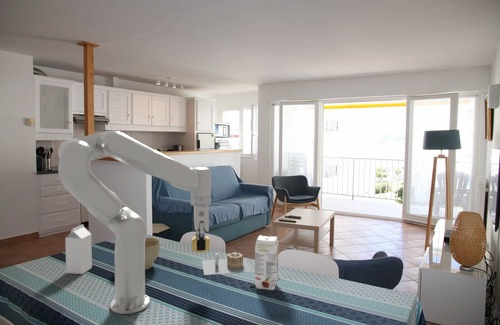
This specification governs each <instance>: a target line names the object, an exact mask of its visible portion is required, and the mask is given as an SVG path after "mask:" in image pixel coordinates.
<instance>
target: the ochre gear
mask: <svg viewBox="0 0 500 325" xmlns="http://www.w3.org/2000/svg"><path fill="white" fill-rule="evenodd" d="M205 239H206V250H200V251H197V240H198V237H197V236H196V235H195V236H192V237H191V252H194V253H197V254H200V253H207V252H209V251H210V250H211V248H210V247H211V243H210V242H211V238H210V236H206V235H205Z"/></svg>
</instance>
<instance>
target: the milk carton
mask: <svg viewBox="0 0 500 325" xmlns="http://www.w3.org/2000/svg"><path fill="white" fill-rule="evenodd" d="M64 244H65V273H66V274H77V275H83V274H85V273H86V272H88V271H89V270H91V269H92V268H93V259H92V258H93V257H92V256H93V255H92V254H93V252H92V233H91V232H90V231H89V230H88V229H87V228H86V227H85V225H84V224H80V225H78V226H76V227H74V228H72V230H70V233H69V234H68V235H67V236H66V237H65V243H64Z"/></svg>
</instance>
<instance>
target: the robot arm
mask: <svg viewBox="0 0 500 325" xmlns="http://www.w3.org/2000/svg"><path fill="white" fill-rule="evenodd" d="M57 155H58V158H59V160H58V166H57V169H58V170H57V171H58V176H59V180H60V182H61V184H62V185H63V187H64V188H65V189H66V191H67V192H69V193H70V194H71V195H72V196H73V197H74V198H75V199H76V200H77V201H78V202H79V203H80V204H81V205H83V207H85V208H86V210H87V212H88V213H89V214H91V215H92V217H94V218H96V219H97V220H98V221H100V223H101V224H103V225H104V226H105V227H106V228H108V229H109V230H110V231H111V232H112V233H113V234H114V235H115V244H114V254H113V256H114V257H113V258H114V292H115V293H114V299H112V301H111V302H110V306H109V308H110V310H111V311H112V313H116V314H119V315H128V314H129V315H130V314H134V313H138V312H141V311H143V310H144V309H146V308H148V306H149V305H150V304H151V299H150V296H148V295H147V294H146V270H145V239H146V237H147V225H146V222H145V220H144V219H143V217H142V216H141V215H139V214H138V213H137V212H135V211H133V210H132V209H131V208H129V207H128V206H127V205H126V203H124V202H123V201H122V200H121V199H120V197H119V196H118V195H117V193H115V192H114V191H112V190H111V189H110V188H109V187H107V186H106V185H105V184H104V183H103V182H102V181H101V180H100V179H99V178H98V176H96V175H95V174H94V173H93V171H92V170H91V162H92V161H96V160H99V159H103V158H106V157H109V158H113V159H114V160H116V161H118V162H120V163H123V165H126V166H128V167H131V168H133V169H135V170H137V171H139V172H140V173H141V172H142V173H143V174H145V175H148V176H152V177H155V178H158V179H161V180H164V181H166V182H168V183H169V184H170V185H171V186H172V187H174V188H177V189H180V190H183V191H185V192H187V191H188V192H190V205H191V206H193V223H194V231H195V237H196V236H197V237H198V240H197V251H200V250H206V239H205V236H206V233H208V232H209V231H210V229H209V226H210V222H209V221H210V220H209V218H210V216H209V214H210V213H209V211H210V210H209V206H210V205H211V204H212V171H211V168H210V167H203V166H198V167H193V168H192V167H189V166H186V165H185V164H183V163H181V162H179V161H177V160H175V159H174V158H171V157H169V156H167V155H165V154H163V153H162V152H159V151H157V150H155V149H153V148H151V147H150V146H148V145H146V144H144V143H142V142H139V141H138V140H136V139H135V138H133V137H132V136H131V137H130V136H129V135H128V134H125V133H124V132H121V131H118V130H106V131H102V132H101V131H100V132H98V133H94V134H89V135H85V136H81V137H74V138H70V139H67V140H65V141H63V142H62V143H61V144H60V145H59V147H58V150H57Z"/></svg>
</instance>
